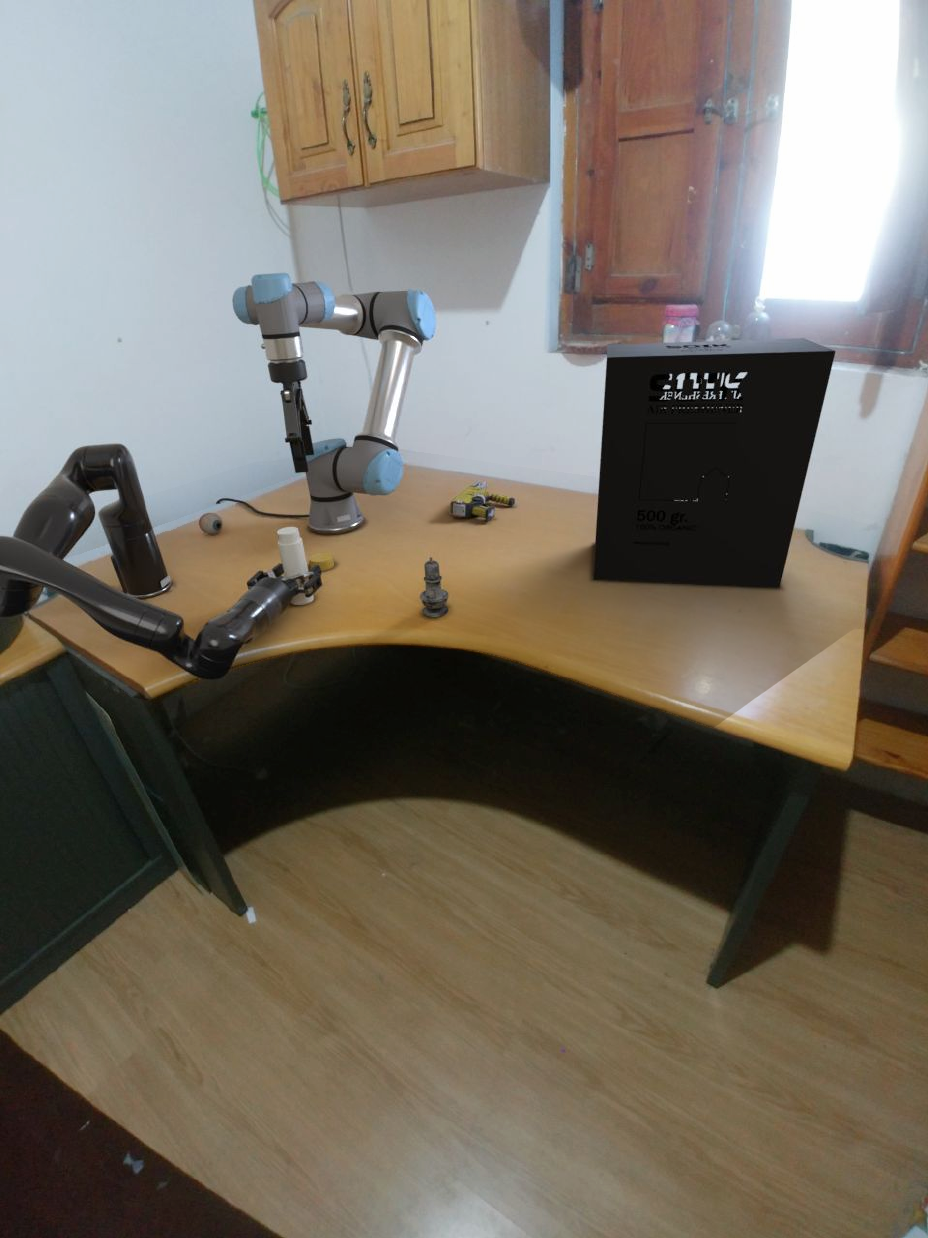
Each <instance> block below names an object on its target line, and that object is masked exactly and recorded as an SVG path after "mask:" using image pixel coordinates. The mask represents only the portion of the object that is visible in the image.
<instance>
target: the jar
mask: <svg viewBox="0 0 928 1238" xmlns="http://www.w3.org/2000/svg"><path fill="white" fill-rule="evenodd" d="M276 535H277V538H278V540H277V546H278V551H279V555H280V556H279V557H280V560H281V563H282V565H283V569H284V573H283V575H284V577H291V576H294V575H296V574H299V573H300V574H302V575H303V574H306V573H309V567H308V561H307V557H306V553H305V547H304V542H303V538H302V537H301V536H300V532H299V528H297V526H286V527H282V528H279V529H278V530H277V532H276ZM296 581H297V583H298V586H299V587H300V582H299V579H297V580H296ZM307 581H309V578H306V579H305V582H307ZM314 599H315V598H314V594H313V595H312V596H311V597H305V594H304V593H299V594H298V595H296V596H294V597H293V598H292V600H291V603H290V604H291V605H294V606H303V605H308V604H310V603H312V602H313V601H314Z"/></svg>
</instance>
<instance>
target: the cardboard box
mask: <svg viewBox="0 0 928 1238" xmlns="http://www.w3.org/2000/svg"><path fill="white" fill-rule="evenodd" d="M835 356H836V350H834V349H831V348H829V347H827V346H824V345H821V344H819V343H816V342H814V341H812V340H810V339H806V338H804V337H799V338H798V337H797V338H796V337H795V338H794V337H793V338H767V339H766V338H765V339H737V340H736V339H735V340H732V339H731V340H707V341H705V340H703V341H675V342H672V341H671V342H670V341H669V342H648V343H647V342H646V343H645V342H644V343H643V342H642V343H639V342H638V343H613V344H612V343H611V344H609V343H607V349H606V363H605V364H606V365H605V367H606V368H605V381H604V396H603V411H602V412H603V413H602V429H601V444H600V445H601V446H600V461H599V477H598V479H599V480H598V494H597V507H596V508H597V509H596V511H597V512H596V523H595V524H596V525H595V538H594V539H595V540H594V559H593V561H594V562H593V579H592V580H595V581H612V582H613V581H616V582H617V581H618V582H636V583H638V582H639V583H660V584H661V583H662V584H680V585H681V584H682V585H683V584H684V585H706V586H726V587H727V586H729V587H748V588H749V587H750V588H751V587H752V588H770V589H771V588H772V589H780V588H781V583H782V579H783V575H784V571H785V567H786V562H787V558H788V554H789V550H790V545H791V542H792V539H793V538H792V537H793V533H794V529H795V524H796V521H797V516H798V512H799V507H800V505H801V504H800V503H801V499H802V495H803V491H804V488H805V487H804V486H805V483H806V478H807V475H808V474H807V473H808V469H809V465H810V461H811V457H812V452H813V450H814V449H813V448H814V444H815V441H816V437H817V431H818V428H819V423H820V420H821V415H822V410H823V407H824V402H825V398H826V393H827V389H828V385H829V381H830V377H831V372H832V368H833V365H834V360H835ZM741 373H746V374H745V375H744V377H741V378H738V376H739V374H741ZM682 374H684V378H683V381H682V385H681V386H682V388H678V385H679V384H678V383H679V379H678V377H679V376H680V375H682ZM692 374H696V378H695V379H694V378H691V376H692ZM706 374H707V378H705V375H706ZM723 375H724V376H723ZM727 377H729V378H728V381H727V382H728V385H729V384H731V385H732V384H738V385H737V387H727V385H726V379H727ZM722 379H723V380H722ZM694 384H696V385H697V384H698V387H695V388H694ZM708 384H713V388H712V387H711V388H710V387H709V388H708ZM666 386H668V387H669V388H665V387H666Z"/></svg>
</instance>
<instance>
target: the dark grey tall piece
mask: <svg viewBox="0 0 928 1238" xmlns="http://www.w3.org/2000/svg"><path fill="white" fill-rule="evenodd" d="M423 567H424V577H423V581H424V582H425V590H424V591H422V592H421V593H420V594H419V599H420V600H421V603H422V605H423V606H424V608H422V614H423V615H424V616H426V617H429V618H438V617H442V616H444V615H446V614H448V612H449V607H448V606H447V605H446V603H447V602H448V598H449V595H450V594H449V592H448V591H447V590H445V589H443V588H442V582H441V581H442V579H443V577H442V575H441V574H440V564H439V562H438V561H437V560H434V559H433V557H432V556H430V557H429V559H428V561H426V562H425V563H424V566H423Z"/></svg>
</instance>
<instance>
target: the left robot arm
mask: <svg viewBox="0 0 928 1238" xmlns="http://www.w3.org/2000/svg"><path fill="white" fill-rule="evenodd" d="M68 456H69V457H68V458H67V459H66V461H65V462H64V464H63V466H62V468H61V469H60V471H59V472H58V474H57V475H56V476H55V477H54V479H52V481H50V483H49V484H48V485H47V486H46V487H45V488H44V489H43V490H41V492H39V493H38V494H37V496H36V497H35V498H34V499H33V500H31V502H30V503H29V504H28V506H27V507H26V509H25V510H24V511H23V513H22V515H21V517H20V519H19V521H18V523H17V526H16V528H15V529H14V532H13V534H12V536H9V535H0V618H2V619H4V618H12V617H16V616H19V615H23V614H25V613H27V612H29V611H30V610H31V609H32V608H34V607H35V606H36V605H37V603H38V602H39V600H40V598H41V596H42V593H43V591H44V589H48V590H49V591H53V592H55V593H57V594H59V595H60V596H63V597H64V598H66V599H67V600H69V601H70V602H72V603H73V604H74V605H76V607H78V608H79V609H80V610H82V611H83V612H84V613H85V614H86V615H88V617H90V618H91V620H93V621H94V622H95V623H96V624H97V625H98V626H100V628H102V629H103V630H104V631H106V632H107V633H109V634H110V635H112V636H113V637H115V638H117V639H119V640H122V641H124V642H126V643H129V644H132V645H134V646H138V647H141V648H142V649H146V650H149V651H152V652H155V653H157V654H159V655H160V656H162V657H163V658H165V659H166V660H168V661H169V662H171V663H172V664H174V665H175V666H177V667H178V668H180V669H181V670H183V671H184V672H186V673H188V674H190V675H192V676H194V677H196V678H198V679H202V680H210V681H212V680H219V679H221V678H223V677H225V676H226V675H227V674H228V673H229V672H230V670H231V668H232V666H233V663H234V662H235V660H236V658H237V656H238V654H239V652H240V650H241V649H242V647H243V646H247V645H249V644H251V643H252V642H254V641H255V640H256V639H257V638H258V637H259V636H260V635H261V634H262V633H263V632H264V631H265V630H266V629H267V628H268V627H270V626H271V625H273V624H274V622H276V621H277V619H278V618H279V617H280V616H281V615H282V614H284V612H285V611H286V610H287V609H288V608H289V607H290V605H291V604H292V603H291V600H292V598H293V597H294V596H296V595H298V594H299V593H304V594H305V597H311V596H312V595H313V596H314V594H315V593H316V592H317V591H318V590H319V589H320V588H321V587H322V586H323V582H322V571H321V568H320V567H319V565H315V566H314V567H313V568H312V569H311V568H310V570H308V572H309V573H306V574H303V575H302V574H300V573H299V574H296V575H294V576H291V577H285V576H283V575H284V569H283V565H282V562H281V563H279V562H278V564H276V565H275V566H273V567H272V568H271V569H267V570H266V571H265V572H264V570H258V571H257V572H256V573H255V574H254V575H252V577H250V578H249V579H248V580H247V581H246V585H247V591H246V592H245V593H243V594H242V595H241V597H240V598H239V599H238V600H237V601H236V602H235V604H234V605H232V606H231V607H230V608H229V609H228V610H227V611H226V612H223V613H221V614H219V615H217V616H214V617H212V618H211V619H210V620H208V621H207V622H206V623H205V624H204V625H203V626H202V627H201V629H200V630H199V631H198V633H197V635H196V638H195V639H194V638H193V637H191V636H190V635H188V634H187V633H186V632H185V620H184V618H183V617H182V616H181V615H179V614H177V613H175V612H173V611H171V610H167V609H165V608H163V607H161V606H159V605H155V604H152V603H150V602H147V601H145V600H143V599H149V598H154V597H157V596H160V595H162V594H164V593H165V592H167V591H169V590H170V589H171V588H172V582H171V581H172V579H171V576H170V574H168V571H167V568H166V565H165V562H164V558H163V555H162V552H161V549H160V546H159V543H158V541H157V537H156V534H155V532H154V528H153V526H152V522H151V519H150V516H149V513H148V510H147V506H146V500H145V497H144V493H143V490H142V486H141V483H140V478H139V474H138V471H137V467H136V464H135V460H134V458H133V455H132V453H131V452H130V450H129V448H128V447H127V446H126V445H125V444H122V443H120V442H119V443H117V442H115V443H102V444H89V445H82V446H79V447H77V448H76V449H74V450H73V451H72V452H71V453H70V455H68ZM115 490H117V494H118V499H116V500H115V501H112V502H111V503H108V504H106V505H105V506H103V507H101V508H100V509H99V511H98V513H97V514H98V518H99V521H100V524H101V527H102V529H103V532H104V535H105V537H106V540H107V542H108V545H109V547H110V550H111V553H112V555H110V561H111V563H112V566H113V568H114V571H115V574H116V577H117V580H118V582H119V585H120V587H121V590H122V591H121V590H119V589H118V588H115V587H114V586H111V585H109V584H107V583H106V582H104V581H102V580H100V579H98V578H97V577H95V576H94V575H91V574H89V573H88V572H86V571H84V570H82V569H80V568H79V567H77V566H75V565H74V564H72V563H70V562H68V561H67V560H65V558H66V557H67V556H68V554H69V553H70V552H71V551H72V549H73V548H74V547H75V546H76V545H77V543H78V542H79V541H80V540H81V538H82V537H83V536H84V535H85V534H86V532H87V531H88V530H89V528H90V527H91V525H92V524H93V522H94V520H95V517H96V506H95V504H94V501H93V499H92V497H91V496H90V495H91V494H92V493H97V492H104V491H115ZM306 578H309V581H307V582H305V579H306ZM297 579H299V582H300V587H299V586H298V583H297V581H296V580H297Z"/></svg>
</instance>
